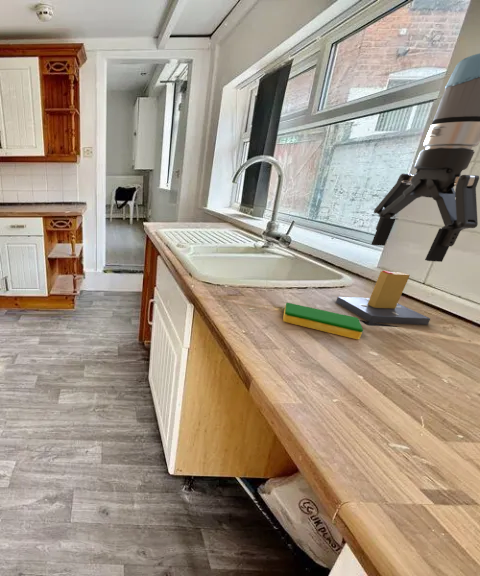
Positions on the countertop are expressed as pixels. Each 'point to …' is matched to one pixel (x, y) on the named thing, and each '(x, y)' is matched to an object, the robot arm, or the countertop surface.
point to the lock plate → (382, 313)
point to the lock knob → (388, 289)
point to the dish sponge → (323, 320)
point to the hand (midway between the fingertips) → (403, 252)
